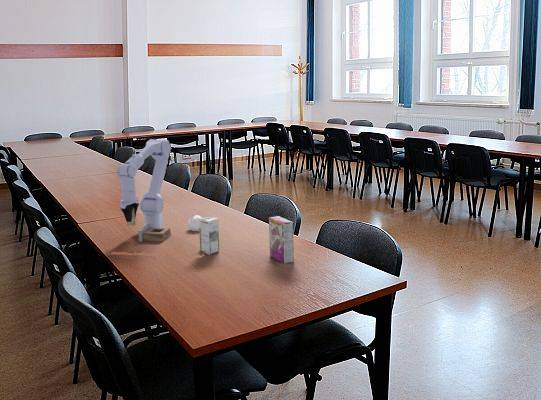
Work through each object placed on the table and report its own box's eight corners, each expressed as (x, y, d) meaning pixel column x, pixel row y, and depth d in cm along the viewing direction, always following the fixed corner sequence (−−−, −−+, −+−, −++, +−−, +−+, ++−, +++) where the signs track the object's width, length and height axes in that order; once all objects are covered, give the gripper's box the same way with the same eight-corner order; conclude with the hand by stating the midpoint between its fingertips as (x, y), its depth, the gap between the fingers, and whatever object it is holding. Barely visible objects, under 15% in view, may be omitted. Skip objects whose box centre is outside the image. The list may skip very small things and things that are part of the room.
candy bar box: (269, 256, 223) (268, 217, 220) (279, 254, 226) (278, 215, 222) (283, 264, 214) (282, 223, 210) (294, 262, 216) (293, 221, 213)
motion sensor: (186, 233, 259) (185, 217, 258) (191, 229, 267) (190, 213, 265) (202, 234, 258) (202, 218, 256) (207, 229, 265) (206, 214, 264)
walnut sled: (151, 234, 255) (151, 227, 254) (170, 235, 253) (170, 228, 252) (143, 241, 245) (142, 233, 244) (162, 241, 244) (162, 233, 243)
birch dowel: (129, 223, 251) (127, 208, 249) (136, 223, 250) (135, 208, 249) (125, 225, 247) (124, 210, 246) (133, 225, 247) (132, 210, 245)
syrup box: (209, 249, 235) (208, 216, 232) (220, 251, 231) (218, 218, 228) (200, 252, 231) (198, 218, 227) (210, 255, 227) (208, 220, 224)
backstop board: (147, 236, 256) (146, 224, 255) (190, 237, 252) (189, 225, 251) (137, 243, 245) (136, 230, 244) (182, 245, 242) (181, 231, 240)
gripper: (126, 187, 253) (129, 216, 256) (112, 194, 239) (115, 224, 242) (141, 187, 252) (143, 216, 255) (128, 194, 238) (130, 224, 241)
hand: (130, 220), depth 248 cm, fingers closed on birch dowel, 4 cm apart
